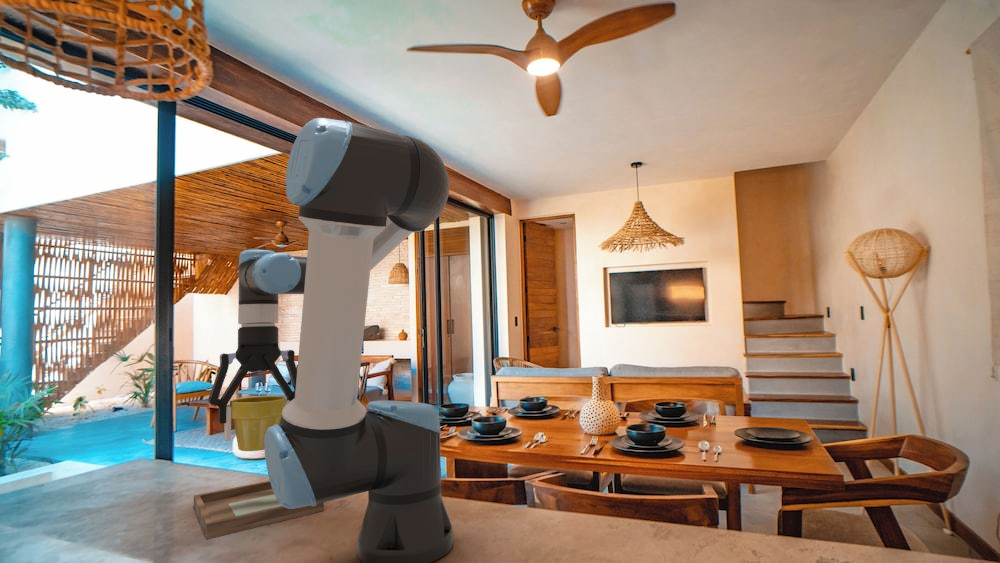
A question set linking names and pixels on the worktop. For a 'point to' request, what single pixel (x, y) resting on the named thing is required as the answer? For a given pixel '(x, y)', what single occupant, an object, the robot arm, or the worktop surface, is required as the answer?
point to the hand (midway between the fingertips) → (257, 435)
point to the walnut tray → (243, 509)
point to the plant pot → (255, 419)
